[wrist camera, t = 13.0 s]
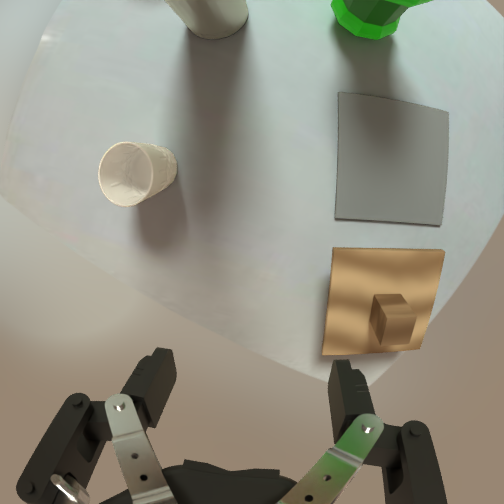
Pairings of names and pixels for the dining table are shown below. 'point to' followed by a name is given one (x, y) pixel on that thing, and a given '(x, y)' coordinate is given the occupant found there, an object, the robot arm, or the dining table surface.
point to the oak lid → (380, 299)
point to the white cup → (135, 172)
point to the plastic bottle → (371, 15)
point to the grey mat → (391, 160)
